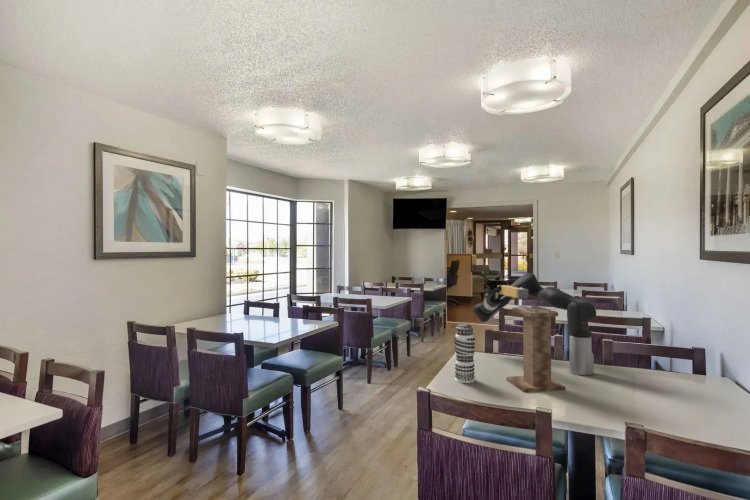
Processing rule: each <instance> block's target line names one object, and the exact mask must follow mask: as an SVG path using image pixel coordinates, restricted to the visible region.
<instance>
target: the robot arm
mask: <svg viewBox="0 0 750 500" xmlns="http://www.w3.org/2000/svg"><path fill="white" fill-rule="evenodd" d="M507 286H512V287H517V288H523V289H528V296H530V297H533V298H536V299H539V300H540V301H542V302H544V303H546V304H547V305H549V306H550V307H553V308H556V309H558V310H559V309H560V310H564V311H566V318H567V319H566V320H567V329H568V332H569V333H568V334H569V338H568V339H569V341H568V342H569V344H568V345H569V373H571V374H573V375H577V376H578V375H579V376H591V375H593V374H594V373H595V372H594V371H595V370H594V366H595V365H594V363H595V362H594V353H593V352H592V331H591V330H590V329H588V328H585V327H584V325H583V322H590V321H593V320H594V319H595V318H596V317H597V309H596V307H595V306H594V305H593V304H592V303H591V302H589V301H587V300H583V299H580V298H577V297H575V296H573V295H571V294H569V293H567V292H565V291H564V290H563V291H562V290H561V289H559V288H556V287H554V286H547V287H545V288H544V287H542V286H541V285H540V283H539V281H538V279H537V277H536V275H535V274H534V273H533V272H527V273H525V274H522V275H521V276H519V277H518V278H517V279H516V280H515V281H514V282H513V283H511V285H507ZM501 290H502V288H501V286H499V287H496V288H492V289H490V290H488V291H486V292H485V293H484V294H485V298H484V299H483V301H482V302H480V303H477V304H476V305H474V307H473V313H475V315H476V317H478V319H479V321H480V322H482V323H485V322H486V323H487V322H488V321H489V320H490V319H492V317H493V316H494V314H495V313H497V312H498V311H499V310H501V309H503V308H504V307H505V306H507V305H508V304H509V303H510V302H511V300H512V299H513V297H511V296H507V295H502V294H498V292H500V291H501Z"/></svg>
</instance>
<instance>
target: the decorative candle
mask: <svg viewBox="0 0 750 500" xmlns="http://www.w3.org/2000/svg"><path fill="white" fill-rule="evenodd" d="M474 329H475V327H474V326H473V325H472V324H471V323H469V322H459V323H458V324H457V325H456V326H455V336H454V339H453V340H454V341H453V342H454V354H455V357H456V358H455V364H454V366H455V368H454V369H455V371H454V374H455V378H454V379H455V381H456V382H458V383H462V384H470V383H471V382H472V383H474V382H475V381H474V380H475V378H476V377H475V374H476V372H475V369H476V368H475V367H476V366H475V360H474V355H475V352H476V351H475V350H474V349H476V347H475V345H476V343H475V342H474V341H475V340H476V338H475V337H474V335H475V334H474Z"/></svg>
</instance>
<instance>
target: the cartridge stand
mask: <svg viewBox="0 0 750 500" xmlns="http://www.w3.org/2000/svg"><path fill="white" fill-rule="evenodd" d="M551 309H552V308H546V307H543V306H540V305H535V304H531V307H529V306H524V305H522V304H520V305H518V307H512V308H511V311H512V312H514V313H516V314H520V315H523V316H522V321H523V322H522V327H523V328H522V331H523V332H522V333H523V337H522V338H523V339H522V341H523V343H522V344H523V345H522V346H523V347H522V348H523V350H522V351H523V357H522V358H523V375H516V376H515V375H512V376H511V375H510V376H506V379H505V380H506V382H508V383H510V384H511V385H513V386H514V387H515V388H516V389H518V390H520V391H521V392H523V393H536V392H537V393H539V392H555V391H558V392H559V391H566V386H565V385H563V384H561V383H560V382H559V381H556V380H554V379H553V378H552V317H559V312H557V311H554V310H551Z"/></svg>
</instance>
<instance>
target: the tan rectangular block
mask: <svg viewBox="0 0 750 500" xmlns="http://www.w3.org/2000/svg"><path fill="white" fill-rule="evenodd" d="M499 286H501V288H502V290H501V291H500V292H498V294H502V295H507V296H511V297H512V298H516V299H520V300H522V299H529V295H528V289H523V288H522V287H520V288H517V287H512V286H508V285H505V284H502V285H500V284H499V285H498V284H497V287H499ZM497 287H496V288H497Z"/></svg>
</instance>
